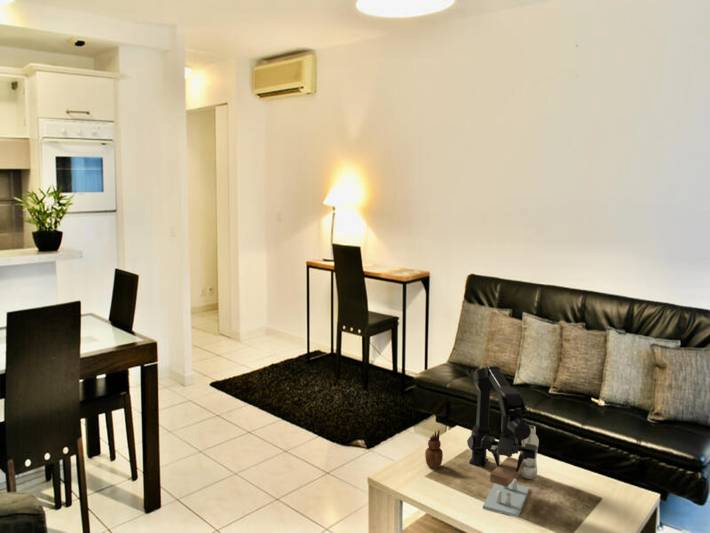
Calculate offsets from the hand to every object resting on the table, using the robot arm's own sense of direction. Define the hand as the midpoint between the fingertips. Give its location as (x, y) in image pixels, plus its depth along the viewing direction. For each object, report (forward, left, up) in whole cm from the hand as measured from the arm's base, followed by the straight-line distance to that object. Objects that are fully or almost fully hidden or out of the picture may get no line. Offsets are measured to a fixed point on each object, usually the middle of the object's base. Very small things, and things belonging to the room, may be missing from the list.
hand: (507, 469), depth 201 cm
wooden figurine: (-11, -31, -11) cm, 35 cm away
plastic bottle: (-20, +4, -11) cm, 23 cm away
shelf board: (0, 0, -2) cm, 2 cm away
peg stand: (0, 0, -11) cm, 11 cm away
